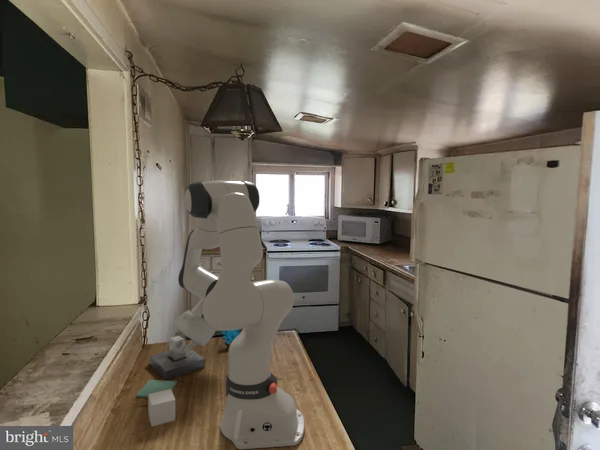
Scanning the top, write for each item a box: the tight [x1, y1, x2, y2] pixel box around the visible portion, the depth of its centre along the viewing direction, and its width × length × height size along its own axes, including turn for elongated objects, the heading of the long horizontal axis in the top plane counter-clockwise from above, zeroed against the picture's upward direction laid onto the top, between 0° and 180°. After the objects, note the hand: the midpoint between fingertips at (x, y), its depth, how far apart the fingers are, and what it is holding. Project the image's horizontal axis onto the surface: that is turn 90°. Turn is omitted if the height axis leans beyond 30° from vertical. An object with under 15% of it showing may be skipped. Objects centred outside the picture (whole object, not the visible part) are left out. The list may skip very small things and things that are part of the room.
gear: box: [221, 329, 241, 345], centre depth 147 cm, size 11×6×10 cm
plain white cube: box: [147, 389, 176, 427], centre depth 98 cm, size 6×6×6 cm
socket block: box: [149, 348, 206, 381], centre depth 127 cm, size 14×14×3 cm
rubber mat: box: [135, 379, 178, 399], centre depth 111 cm, size 9×9×1 cm
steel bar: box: [168, 335, 186, 362], centre depth 127 cm, size 4×4×10 cm
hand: (177, 347), depth 127 cm, fingers open, 8 cm apart
